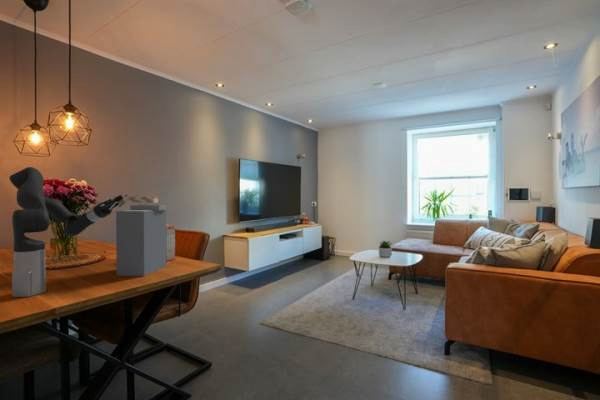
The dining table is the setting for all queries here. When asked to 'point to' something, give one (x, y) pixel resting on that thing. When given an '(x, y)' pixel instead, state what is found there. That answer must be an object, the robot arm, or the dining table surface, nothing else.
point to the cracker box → (170, 242)
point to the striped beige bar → (139, 199)
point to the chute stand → (141, 240)
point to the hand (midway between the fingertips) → (125, 196)
